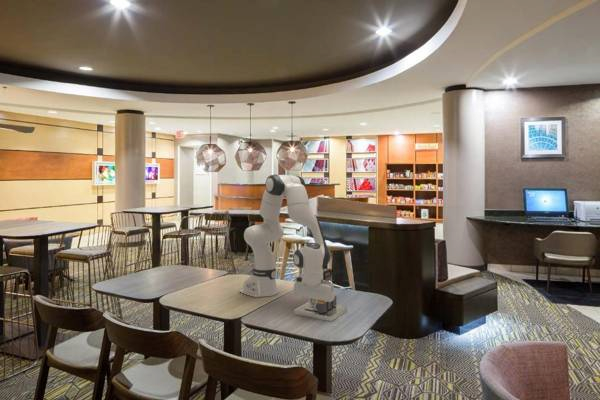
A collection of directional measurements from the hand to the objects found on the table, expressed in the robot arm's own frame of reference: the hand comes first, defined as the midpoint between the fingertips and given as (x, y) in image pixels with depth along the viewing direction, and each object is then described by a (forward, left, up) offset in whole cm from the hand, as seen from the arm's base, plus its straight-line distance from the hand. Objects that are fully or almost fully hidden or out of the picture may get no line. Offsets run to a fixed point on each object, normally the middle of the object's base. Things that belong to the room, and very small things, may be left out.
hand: (314, 307), depth 177 cm
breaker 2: (+4, +10, -1) cm, 11 cm away
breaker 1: (+4, +5, -1) cm, 7 cm away
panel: (+1, +5, -4) cm, 6 cm away
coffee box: (-7, +22, -4) cm, 24 cm away
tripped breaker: (+4, 0, -1) cm, 4 cm away
